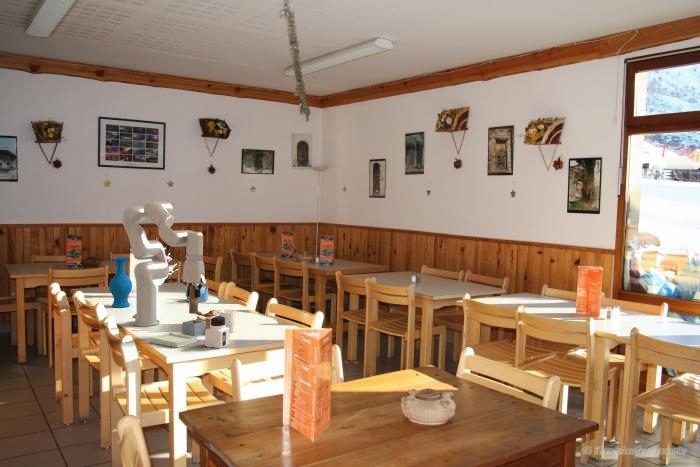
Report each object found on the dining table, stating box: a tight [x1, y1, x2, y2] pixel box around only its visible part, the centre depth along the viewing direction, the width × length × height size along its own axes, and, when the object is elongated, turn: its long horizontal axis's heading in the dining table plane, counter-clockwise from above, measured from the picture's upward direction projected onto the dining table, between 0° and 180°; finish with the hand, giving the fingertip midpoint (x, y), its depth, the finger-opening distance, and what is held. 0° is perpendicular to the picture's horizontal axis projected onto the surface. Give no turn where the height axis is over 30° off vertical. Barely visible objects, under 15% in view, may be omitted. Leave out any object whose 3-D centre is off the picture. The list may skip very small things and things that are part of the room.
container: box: [204, 315, 230, 349], centre depth 266 cm, size 8×8×13 cm
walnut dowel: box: [188, 284, 199, 315], centre depth 285 cm, size 4×4×13 cm
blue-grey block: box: [182, 319, 207, 338], centre depth 286 cm, size 8×8×6 cm
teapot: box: [184, 284, 209, 303], centre depth 370 cm, size 15×15×10 cm
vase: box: [108, 256, 133, 308], centre depth 348 cm, size 12×13×28 cm
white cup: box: [218, 309, 237, 334], centre depth 292 cm, size 8×8×10 cm
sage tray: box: [150, 332, 198, 348], centre depth 270 cm, size 16×12×2 cm
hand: (193, 296), depth 285 cm, fingers closed on walnut dowel, 4 cm apart
